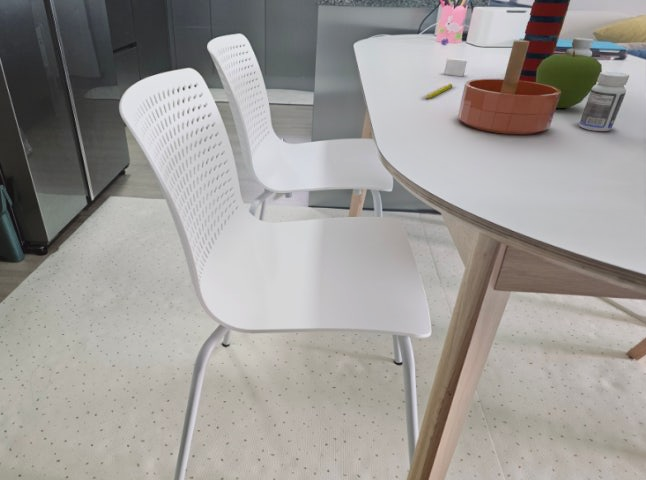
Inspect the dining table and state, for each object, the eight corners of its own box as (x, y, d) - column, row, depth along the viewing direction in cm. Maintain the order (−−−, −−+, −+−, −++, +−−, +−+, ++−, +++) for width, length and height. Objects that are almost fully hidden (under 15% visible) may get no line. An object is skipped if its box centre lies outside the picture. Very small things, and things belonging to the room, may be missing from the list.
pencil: (447, 88, 106) (448, 83, 106) (451, 88, 106) (452, 83, 105) (423, 100, 95) (424, 95, 94) (428, 101, 94) (429, 95, 94)
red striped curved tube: (541, 95, 100) (584, -46, 86) (506, 91, 103) (543, -46, 89) (548, 77, 118) (586, -41, 105) (519, 75, 121) (551, -41, 108)
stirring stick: (505, 119, 79) (527, 40, 72) (508, 122, 77) (531, 41, 71) (491, 118, 79) (512, 39, 73) (494, 121, 77) (516, 41, 71)
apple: (549, 114, 85) (568, 54, 80) (515, 101, 94) (530, 47, 88) (601, 113, 86) (624, 54, 81) (563, 100, 95) (581, 46, 90)
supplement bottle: (582, 88, 107) (599, 40, 102) (556, 86, 109) (571, 39, 104) (579, 84, 112) (594, 38, 106) (554, 82, 113) (568, 37, 108)
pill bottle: (596, 123, 80) (616, 70, 75) (617, 131, 76) (640, 75, 71) (571, 124, 79) (590, 71, 74) (592, 132, 75) (613, 76, 71)
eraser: (444, 73, 121) (447, 58, 119) (463, 75, 120) (467, 59, 118) (443, 74, 121) (446, 58, 119) (462, 76, 119) (466, 60, 117)
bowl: (533, 116, 83) (544, 80, 80) (561, 138, 72) (575, 97, 68) (451, 112, 85) (458, 77, 82) (465, 133, 73) (475, 93, 70)
